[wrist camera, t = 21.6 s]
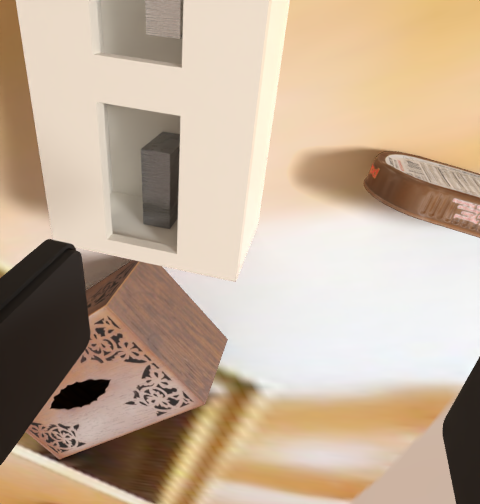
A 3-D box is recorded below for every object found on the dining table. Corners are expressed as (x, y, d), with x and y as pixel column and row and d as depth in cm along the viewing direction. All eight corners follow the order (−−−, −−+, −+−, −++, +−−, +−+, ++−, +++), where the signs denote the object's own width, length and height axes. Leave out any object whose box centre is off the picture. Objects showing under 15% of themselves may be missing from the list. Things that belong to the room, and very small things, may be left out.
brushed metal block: (163, 200, 43) (162, 131, 40) (187, 205, 43) (189, 135, 39) (143, 224, 39) (140, 148, 36) (169, 229, 39) (170, 153, 35)
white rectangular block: (82, -170, 30) (-20, -228, 22) (311, -152, 28) (293, -207, 20) (107, 195, 46) (53, 242, 37) (258, 224, 43) (235, 282, 35)
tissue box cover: (96, 398, 65) (59, 459, 56) (23, 331, 60) (-29, 387, 52) (228, 337, 53) (205, 404, 44) (148, 249, 48) (105, 304, 40)
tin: (361, 169, 38) (362, 211, 32) (375, 135, 37) (380, 171, 30) (530, 220, 38) (571, 274, 31) (553, 187, 36) (601, 237, 29)
